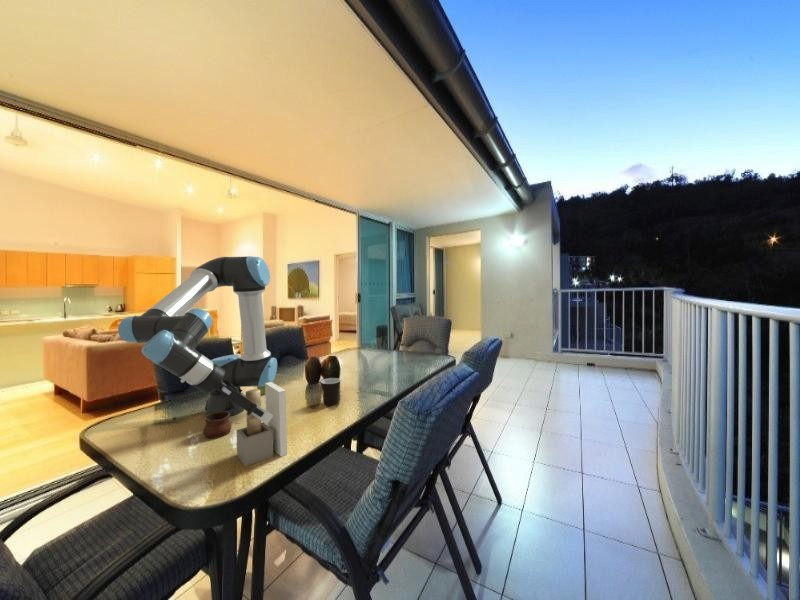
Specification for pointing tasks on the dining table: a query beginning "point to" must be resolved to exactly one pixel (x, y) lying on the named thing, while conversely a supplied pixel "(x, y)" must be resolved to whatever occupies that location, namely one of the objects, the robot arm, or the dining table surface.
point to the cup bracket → (266, 430)
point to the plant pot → (262, 390)
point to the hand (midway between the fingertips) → (262, 413)
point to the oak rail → (253, 421)
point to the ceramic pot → (217, 425)
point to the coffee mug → (330, 391)
